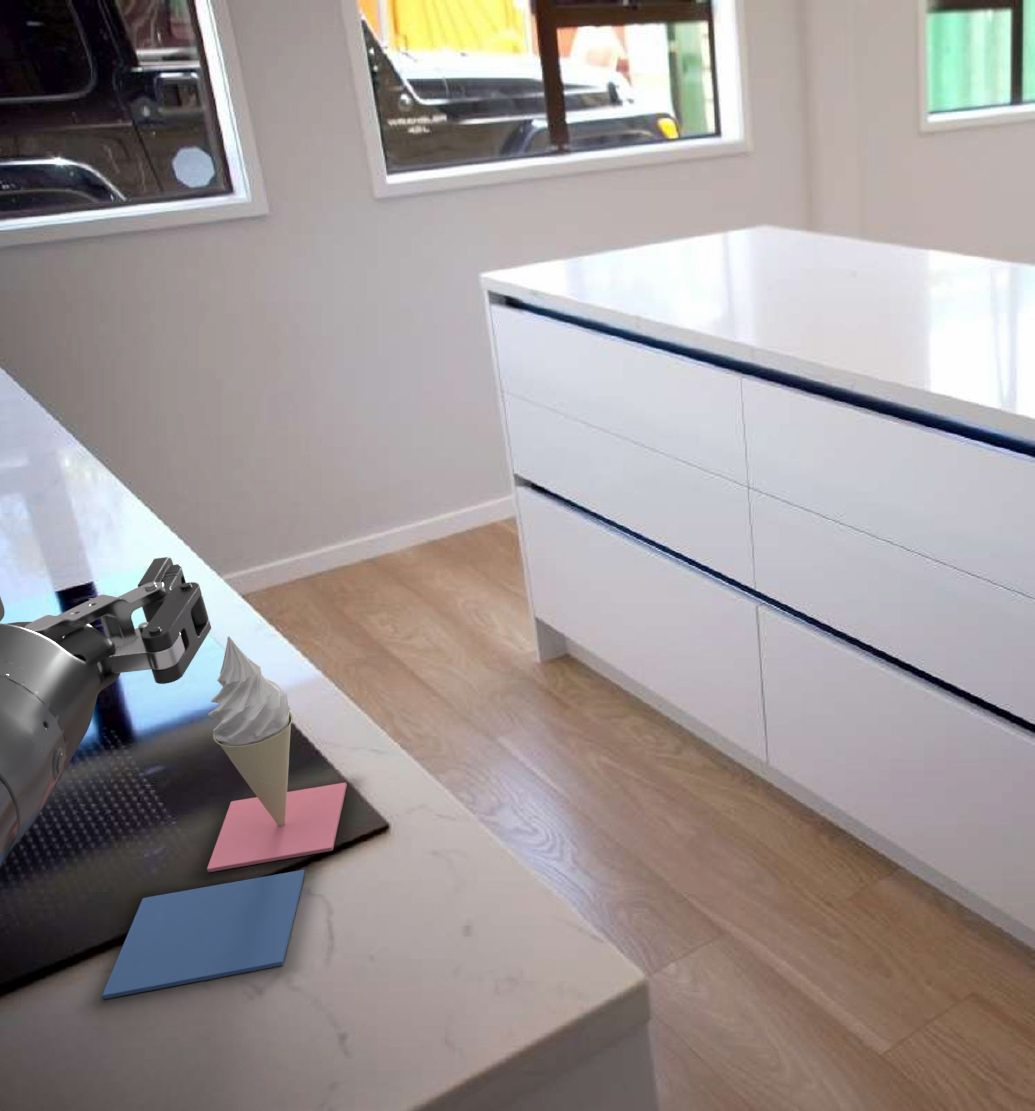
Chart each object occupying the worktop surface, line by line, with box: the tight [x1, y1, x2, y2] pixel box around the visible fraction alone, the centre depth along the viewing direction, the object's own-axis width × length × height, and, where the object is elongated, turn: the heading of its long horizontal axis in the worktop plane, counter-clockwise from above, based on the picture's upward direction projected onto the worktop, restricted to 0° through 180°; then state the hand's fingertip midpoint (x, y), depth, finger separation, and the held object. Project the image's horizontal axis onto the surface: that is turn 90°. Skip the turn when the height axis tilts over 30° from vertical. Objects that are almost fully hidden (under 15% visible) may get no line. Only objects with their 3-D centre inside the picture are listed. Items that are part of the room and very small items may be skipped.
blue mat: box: [101, 869, 306, 1000], centre depth 79 cm, size 10×9×1 cm
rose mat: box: [206, 781, 348, 873], centre depth 89 cm, size 8×8×1 cm
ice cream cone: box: [207, 636, 294, 826], centre depth 85 cm, size 5×5×15 cm
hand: (81, 584), depth 66 cm, fingers open, 8 cm apart
